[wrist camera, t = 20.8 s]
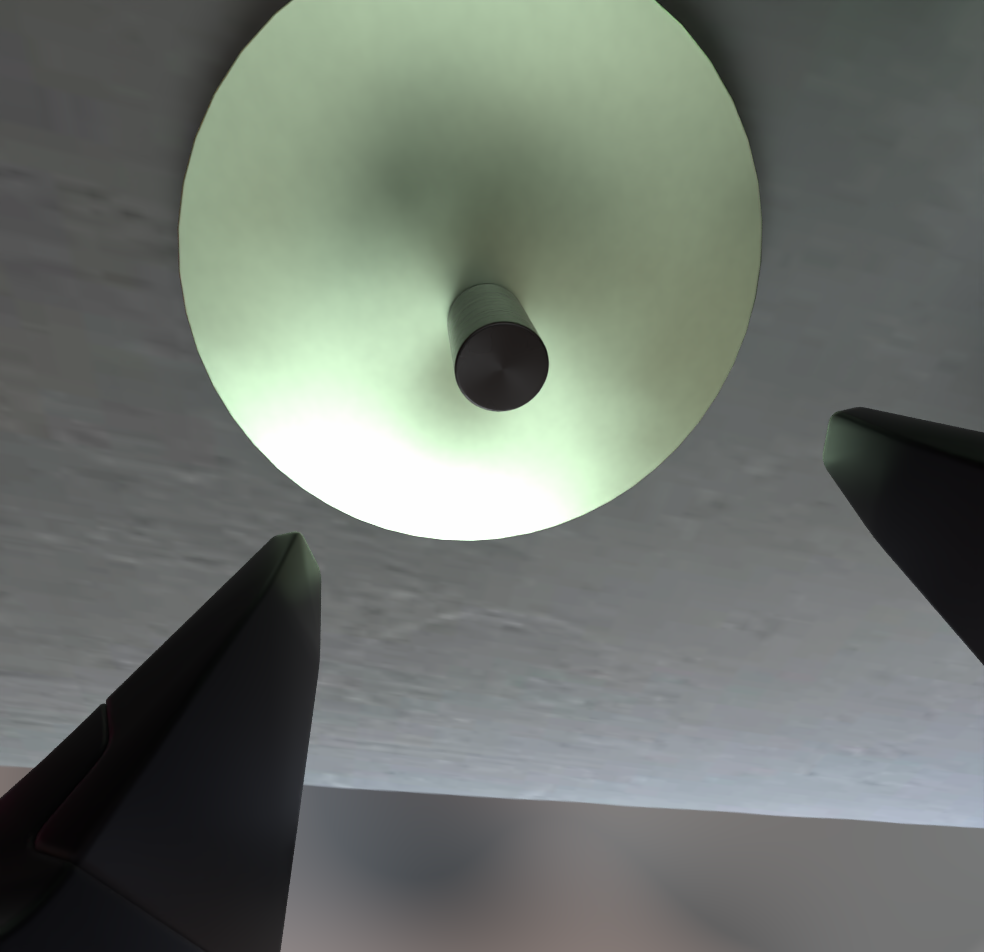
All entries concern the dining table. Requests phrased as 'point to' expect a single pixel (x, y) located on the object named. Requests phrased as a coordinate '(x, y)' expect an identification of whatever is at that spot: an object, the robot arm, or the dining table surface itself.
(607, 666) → the dining table surface
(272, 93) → the bin lid
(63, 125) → the dining table surface
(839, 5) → the dining table surface
